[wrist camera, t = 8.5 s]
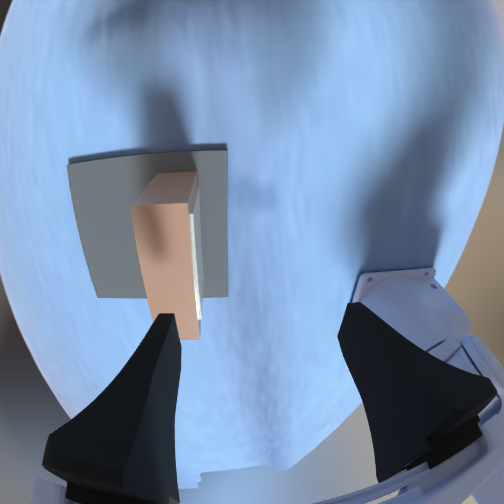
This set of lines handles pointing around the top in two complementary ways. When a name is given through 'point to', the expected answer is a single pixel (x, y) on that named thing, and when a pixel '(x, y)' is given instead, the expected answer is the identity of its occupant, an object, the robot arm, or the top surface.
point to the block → (171, 248)
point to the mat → (121, 225)
